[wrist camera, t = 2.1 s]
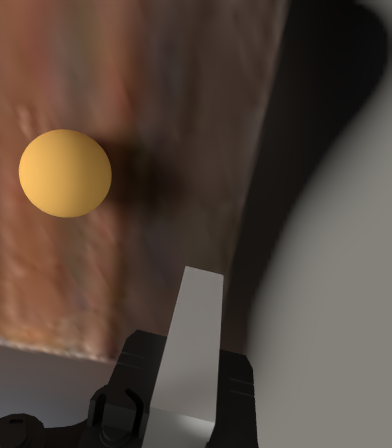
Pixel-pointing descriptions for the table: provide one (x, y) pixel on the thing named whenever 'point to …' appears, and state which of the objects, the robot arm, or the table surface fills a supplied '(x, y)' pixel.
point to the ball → (65, 173)
